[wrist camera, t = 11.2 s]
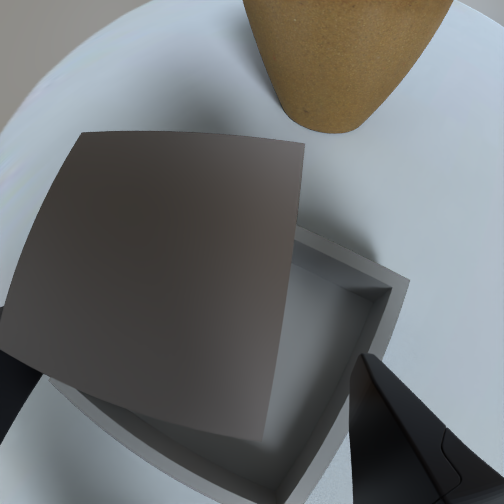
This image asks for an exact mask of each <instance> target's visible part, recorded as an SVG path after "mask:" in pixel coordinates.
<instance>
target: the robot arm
mask: <svg viewBox="0 0 504 504" xmlns="http://www.w3.org/2000/svg"><path fill="white" fill-rule="evenodd" d="M3 308H4V306H3V307H0V320H1V316H2V312H3ZM42 375H43V373H41V372H40V371H38V370H36V369H34V368H32V367H30V366H28V365H26V364H25V363H23V362H21V361H19V360H17V359H16V358H14V357H12V356H10V355H9V354H7V353H5V352H4V351H2V350H0V445H1V443H2V441H3V439H4V437H5V436H6V434H7V432H8V430H9V429H10V427H11V425H12V423H13V422H14V420H15V418H16V416H17V415H18V413H19V411H20V410H21V408H22V406H23V405H24V403H25V402H26V400H27V398H28V397H29V395H30V394H31V392H32V390H33V389H34V387H35V386H36V384H37V383H38V381H39V380H40V378H41V377H42ZM349 438H350V451H351V465H352V484H353V504H504V477H502V476H501V475H500V474H499V473H498V472H496V471H495V470H494V469H493V468H492V467H490V466H489V465H488V464H487V463H486V462H484V461H483V460H482V459H481V458H480V457H478V456H477V455H476V454H475V453H474V452H473V451H471V450H470V449H469V448H468V447H467V446H466V445H465V444H464V443H463V442H462V441H461V440H460V439H459V438H458V437H457V436H456V435H455V434H454V433H453V432H452V431H451V430H450V429H449V428H446V425H445V424H444V423H443V422H442V421H441V420H440V419H439V418H438V417H437V416H436V415H435V414H434V413H433V412H432V411H431V410H430V409H429V408H428V407H427V406H426V405H425V404H424V403H423V402H422V401H421V400H420V399H419V398H418V397H417V396H416V395H415V394H414V393H413V392H412V391H411V390H410V389H409V388H408V387H407V386H406V385H405V384H404V383H403V382H402V381H401V380H400V379H399V378H398V377H397V376H396V375H395V374H394V373H393V372H392V371H391V370H390V369H389V368H388V367H387V366H386V365H385V364H384V363H383V362H382V361H381V360H380V359H379V358H378V357H377V356H375V355H374V354H370V353H361V354H359V356H358V358H357V360H356V363H355V365H354V368H353V370H352V373H351V376H350V386H349Z"/></svg>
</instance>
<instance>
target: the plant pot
mask: <svg viewBox="0 0 504 504" xmlns="http://www.w3.org/2000/svg"><path fill="white" fill-rule="evenodd" d="M452 2H453V0H243V3H244V7H245V10H246V13H247V16H248V19H249V23H250V26H251V28H252V31H253V34H254V37H255V40H256V43H257V46H258V49H259V51H260V54H261V57H262V60H263V62H264V65H265V67H266V70H267V73H268V75H269V77H270V80H271V82H272V84H273V87H274V89H275V92H276V94H277V96H278V98H279V100H280V103H281V105H282V107H283V109H284V111H285V113H286V114H287V115H288V116H289V117H290V118H291V119H292V120H294V121H295V122H296V123H298V124H300V125H301V126H304V127H306V128H309V129H311V130H315V131H318V132H324V133H345V132H349V131H352V130H354V129H356V128H358V127H359V126H360V125H361V124H362V123H363V122H365V121H366V120H367V119H368V118H369V117H370V116H371V115H372V114H373V112H374V111H375V110H376V109H377V108H378V107H379V106H380V105H381V104H382V103H383V102H384V101H385V100H386V99H387V97H388V96H389V95H390V94H391V93H392V92H393V90H394V89H395V88H396V87H397V86H398V85H399V83H400V82H401V81H402V80H403V78H404V77H405V76H406V74H407V73H408V72H409V71H410V69H411V68H412V67H413V65H414V64H415V62H416V61H417V60H418V58H419V57H420V55H421V54H422V52H423V51H424V49H425V48H426V46H427V45H428V43H429V42H430V40H431V39H432V37H433V36H434V34H435V32H436V31H437V29H438V28H439V26H440V24H441V23H442V21H443V19H444V17H445V16H446V14H447V12H448V10H449V8H450V6H451V4H452Z"/></svg>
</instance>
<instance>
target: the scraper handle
mask: <svg viewBox="0 0 504 504" xmlns="http://www.w3.org/2000/svg"><path fill="white" fill-rule="evenodd" d="M304 148H305V144H304V143H297V142H290V141H282V140H275V139H266V138H257V137H248V136H237V135H226V134H212V133H196V132H172V131H105V132H83V133H81V135H80V136H79V138H78V139H77V141H76V143H75V144H74V146H73V148H72V149H71V151H70V153H69V154H68V156H67V158H66V160H65V161H64V163H63V165H62V167H61V168H60V170H59V172H58V174H57V176H56V178H55V180H54V181H53V183H52V185H51V187H50V189H49V191H48V193H47V195H46V197H45V199H44V201H43V203H42V206H41V208H40V210H39V212H38V214H37V216H36V219H35V221H34V223H33V226H32V228H31V230H30V233H29V235H28V238H27V240H26V242H25V245H24V248H23V250H22V253H21V255H20V258H19V261H18V264H17V267H16V269H15V272H14V275H13V278H12V281H11V285H10V288H9V291H8V294H7V298H6V301H5V305H4V308H3V312H2V316H1V320H0V350H2V351H4V352H5V353H7V354H9V355H10V356H12V357H14V358H16V359H17V360H19V361H21V362H23V363H25V364H26V365H28V366H30V367H32V368H34V369H36V370H38V371H40V372H41V373H43V374H45V375H47V376H49V377H51V378H53V379H56V380H58V381H60V382H62V383H64V384H66V385H68V386H71V387H73V388H75V389H77V390H80V391H82V392H84V393H87V394H89V395H91V396H94V397H96V398H99V399H101V400H104V401H106V402H109V403H112V404H114V405H117V406H120V407H123V408H126V409H128V410H131V411H134V412H137V413H140V414H143V415H146V416H150V417H153V418H156V419H160V420H163V421H166V422H170V423H174V424H177V425H181V426H185V427H189V428H193V429H197V430H201V431H206V432H210V433H215V434H219V435H224V436H230V437H235V438H241V439H246V440H253V441H259V442H262V438H263V433H264V428H265V423H266V418H267V412H268V407H269V401H270V396H271V390H272V385H273V379H274V373H275V367H276V361H277V355H278V349H279V343H280V337H281V330H282V324H283V317H284V311H285V304H286V297H287V290H288V283H289V276H290V269H291V261H292V254H293V246H294V238H295V230H296V222H297V213H298V205H299V196H300V187H301V178H302V168H303V158H304Z"/></svg>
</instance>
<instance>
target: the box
mask: <svg viewBox="0 0 504 504" xmlns="http://www.w3.org/2000/svg"><path fill="white" fill-rule="evenodd" d="M409 282H410V280H409V279H407V278H405V277H403V276H401V275H399V274H397V273H395V272H393V271H391V270H390V269H388V268H386V267H384V266H382V265H380V264H378V263H376V262H374V261H372V260H370V259H368V258H365V257H363V256H361V255H359V254H357V253H355V252H353V251H351V250H349V249H347V248H345V247H343V246H341V245H339V244H337V243H335V242H333V241H330V240H328V239H326V238H324V237H322V236H320V235H318V234H316V233H314V232H311V231H309V230H307V229H305V228H303V227H301V226H298V225H296V230H295V238H294V246H293V254H292V261H291V269H290V276H289V283H288V290H287V297H286V304H285V311H284V317H283V324H282V330H281V337H280V343H279V349H278V355H277V361H276V367H275V373H274V379H273V385H272V390H271V396H270V401H269V407H268V412H267V418H266V423H265V428H264V433H263V438H262V442H259V441H253V440H246V439H241V438H235V437H230V436H224V435H219V434H215V433H210V432H206V431H201V430H197V429H193V428H189V427H185V426H181V425H177V424H174V423H170V422H166V421H163V420H160V419H156V418H153V417H150V416H146V415H143V414H140V413H137V412H134V411H131V410H128V409H126V408H123V407H120V406H117V405H114V404H112V403H109V402H106V401H104V400H101V399H99V398H96V397H94V396H91V395H89V394H87V393H84V392H82V391H80V390H77V389H75V388H73V387H71V386H68V385H66V384H64V383H62V382H60V381H58V380H56V379H53V378H51V377H50V378H49V382H50V383H51V384H52V385H53V386H54V387H55V388H56V389H57V390H59V391H60V392H61V393H62V394H63V395H64V396H65V397H66V398H67V399H68V400H69V401H70V402H71V403H72V404H73V405H74V406H76V407H77V408H78V409H79V410H80V411H81V412H82V413H83V414H85V415H86V416H87V417H88V418H89V419H90V420H92V421H93V422H94V423H95V424H96V425H98V426H99V427H100V428H101V429H103V430H104V431H105V432H106V433H108V434H109V435H110V436H112V437H113V438H114V439H115V440H117V441H118V442H119V443H121V444H122V445H124V446H125V447H126V448H128V449H129V450H130V451H132V452H133V453H135V454H136V455H138V456H139V457H141V458H142V459H143V460H145V461H146V462H148V463H150V464H151V465H153V466H154V467H156V468H157V469H159V470H160V471H162V472H164V473H165V474H167V475H169V476H170V477H172V478H174V479H175V480H177V481H179V482H181V483H182V484H184V485H186V486H188V487H190V488H191V489H193V490H195V491H197V492H199V493H201V494H203V495H205V496H207V497H209V498H211V499H213V500H215V501H217V502H219V503H221V504H304V503H305V501H306V500H307V499H308V497H309V496H310V494H311V493H312V491H313V490H314V488H315V487H316V485H317V484H318V482H319V480H320V479H321V477H322V476H323V474H324V473H325V471H326V469H327V468H328V466H329V464H330V463H331V461H332V459H333V458H334V456H335V454H336V452H337V451H338V449H339V447H340V445H341V444H342V442H343V440H344V438H345V436H346V435H347V433H348V431H349V386H350V376H351V373H352V370H353V368H354V365H355V363H356V360H357V358H358V356H359V354H361V353H370V354H374V355H375V356H377V357H378V358H379V359H380V360H381V361H382V359H383V356H384V354H385V351H386V349H387V346H388V344H389V341H390V338H391V336H392V333H393V330H394V328H395V325H396V322H397V319H398V316H399V313H400V311H401V308H402V305H403V302H404V298H405V295H406V292H407V289H408V286H409Z"/></svg>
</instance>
